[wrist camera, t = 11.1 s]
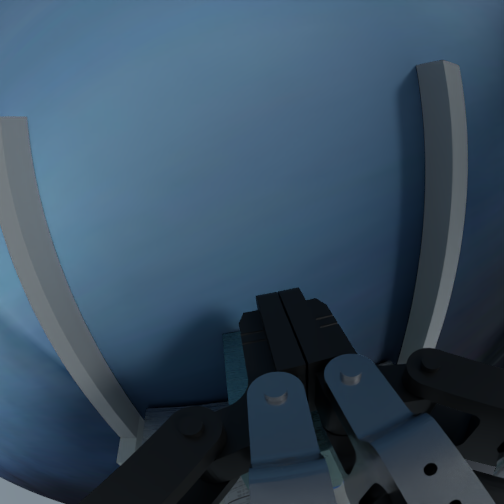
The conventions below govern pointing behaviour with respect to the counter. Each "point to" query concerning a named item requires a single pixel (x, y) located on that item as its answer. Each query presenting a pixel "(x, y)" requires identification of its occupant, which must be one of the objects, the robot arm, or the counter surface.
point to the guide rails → (72, 323)
